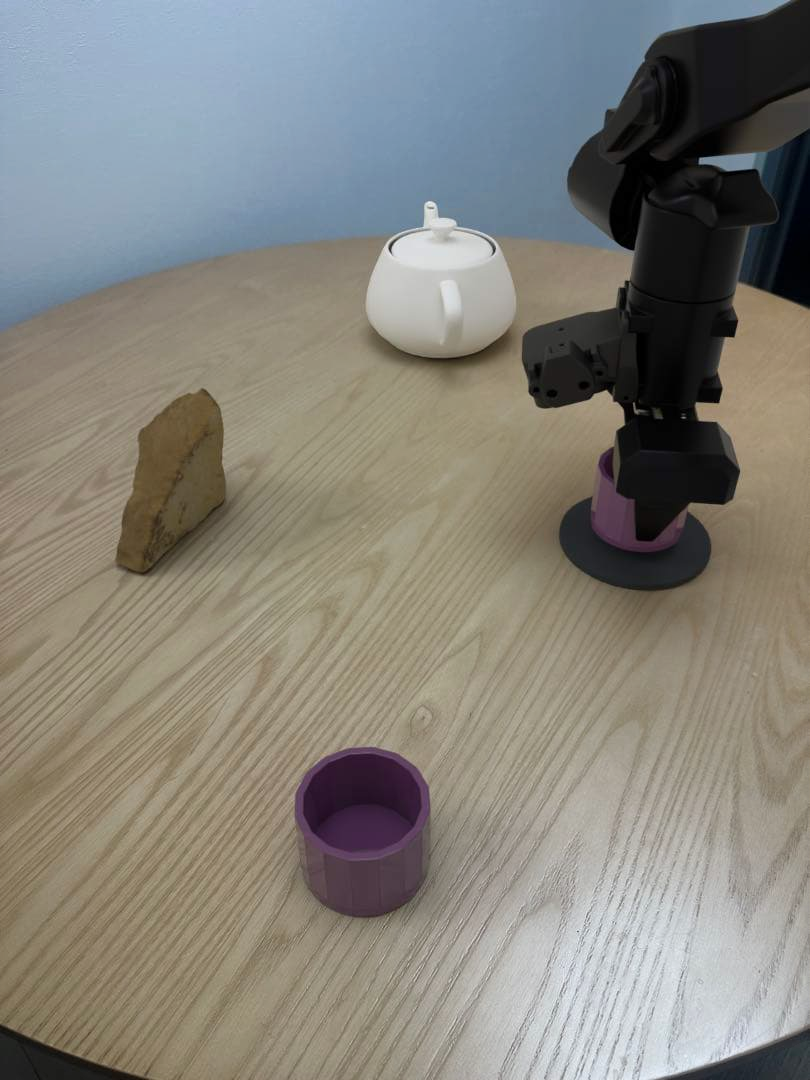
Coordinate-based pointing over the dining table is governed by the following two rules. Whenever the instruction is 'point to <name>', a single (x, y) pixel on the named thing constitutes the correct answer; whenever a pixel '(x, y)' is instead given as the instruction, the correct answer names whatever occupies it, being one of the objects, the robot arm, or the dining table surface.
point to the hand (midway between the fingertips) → (640, 509)
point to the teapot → (441, 290)
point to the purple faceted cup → (363, 830)
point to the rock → (173, 479)
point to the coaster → (633, 554)
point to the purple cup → (624, 514)
